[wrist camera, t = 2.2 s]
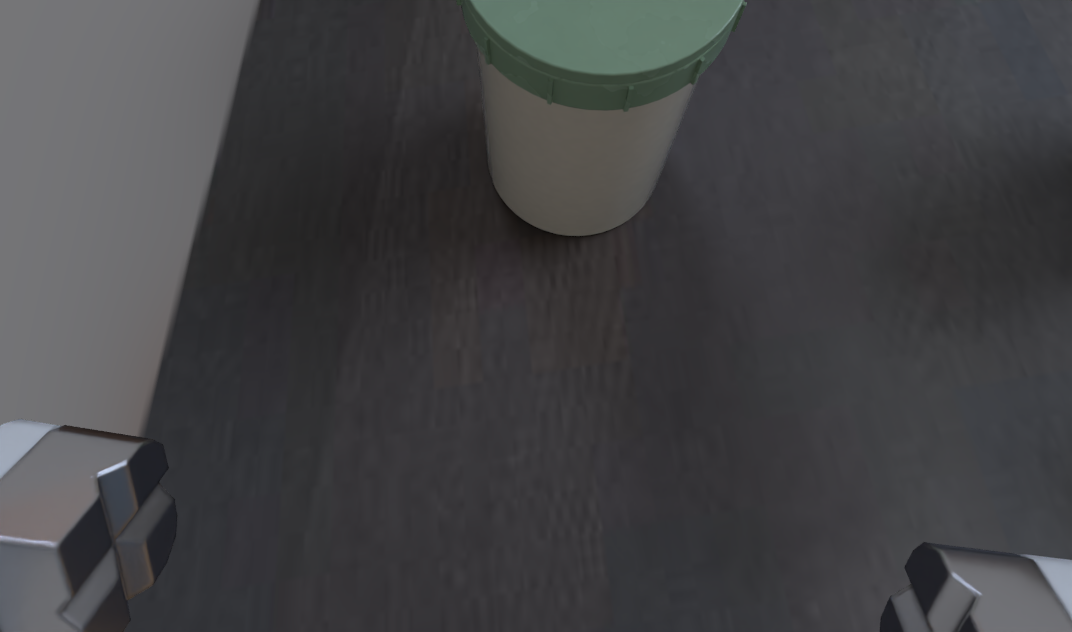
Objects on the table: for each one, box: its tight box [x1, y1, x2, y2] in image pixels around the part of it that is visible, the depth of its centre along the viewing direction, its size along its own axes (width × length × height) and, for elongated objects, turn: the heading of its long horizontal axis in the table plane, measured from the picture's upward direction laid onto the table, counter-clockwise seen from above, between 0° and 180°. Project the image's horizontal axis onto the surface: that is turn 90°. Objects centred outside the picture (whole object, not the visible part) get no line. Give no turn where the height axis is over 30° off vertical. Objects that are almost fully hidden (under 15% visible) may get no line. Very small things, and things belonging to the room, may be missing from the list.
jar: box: [476, 45, 701, 236], centre depth 22 cm, size 6×6×10 cm
